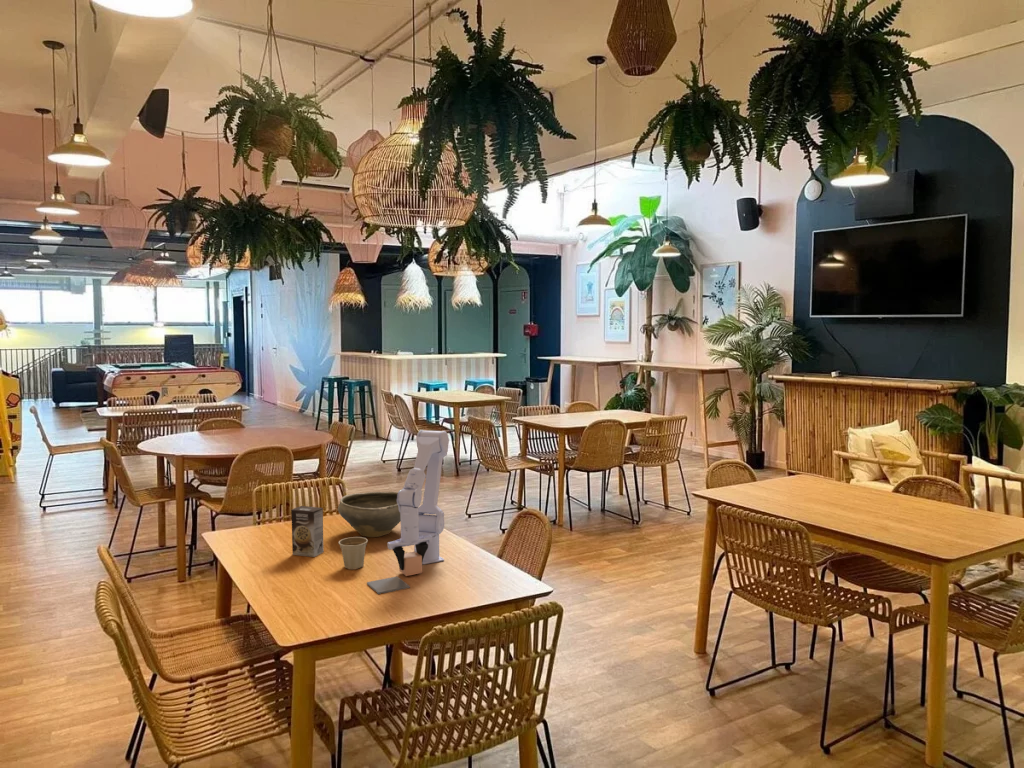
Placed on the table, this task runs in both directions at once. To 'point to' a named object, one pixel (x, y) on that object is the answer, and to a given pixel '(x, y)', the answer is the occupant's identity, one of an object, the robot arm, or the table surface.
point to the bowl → (371, 512)
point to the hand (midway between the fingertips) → (410, 567)
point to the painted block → (412, 564)
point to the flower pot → (353, 551)
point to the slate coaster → (388, 585)
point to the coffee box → (307, 531)
